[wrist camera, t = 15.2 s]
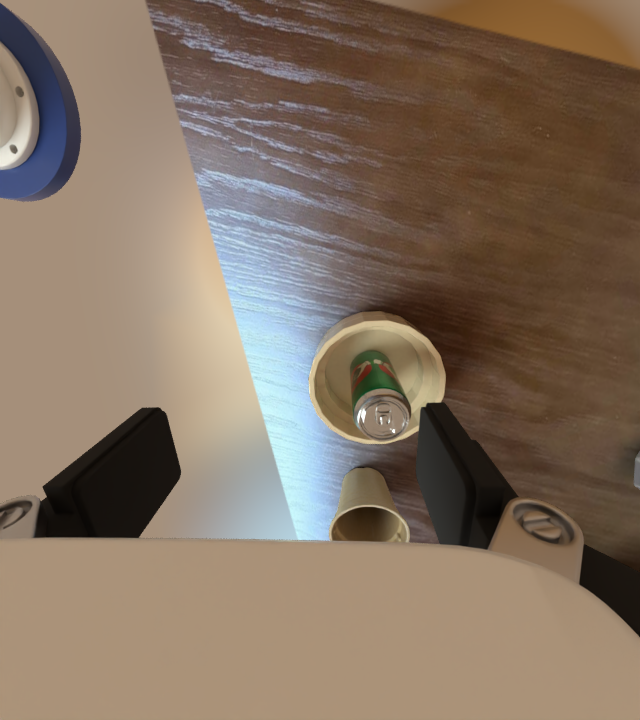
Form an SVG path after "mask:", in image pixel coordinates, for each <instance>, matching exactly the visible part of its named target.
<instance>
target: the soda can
mask: <svg viewBox="0 0 640 720" xmlns="http://www.w3.org/2000/svg"><path fill="white" fill-rule="evenodd" d="M350 382H351V397H352V412H353V419H354V422H355V424H356V426H357V427H358V429H359V430H361V431H362V433H363V434H364V435H365V436H367V437H368V438H370V439H372V440H375V441H380V442H385V441H391V440H394V439H396V438H398V437H399V436H401V435H402V434H403V433H404V432H405V431H406V429H407V427H408V425H409V421H410V418H411V406H410V403H409V401H408V399H407V397H406V394H405V392H404V390H403V388H402V386H401V383H400V381H399V379H398V377H397V375H396V373H395V370H394V368H393V366H392V364H391V362H390V360H389V358H388V357H387V356H386V355H384V354H383V353H381V352H378V351H372V350H370V351H365V352H362V353H360V354H359V355H357V356H356V357H355V358H354V360H353V361H352V363H351V366H350Z"/></svg>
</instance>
